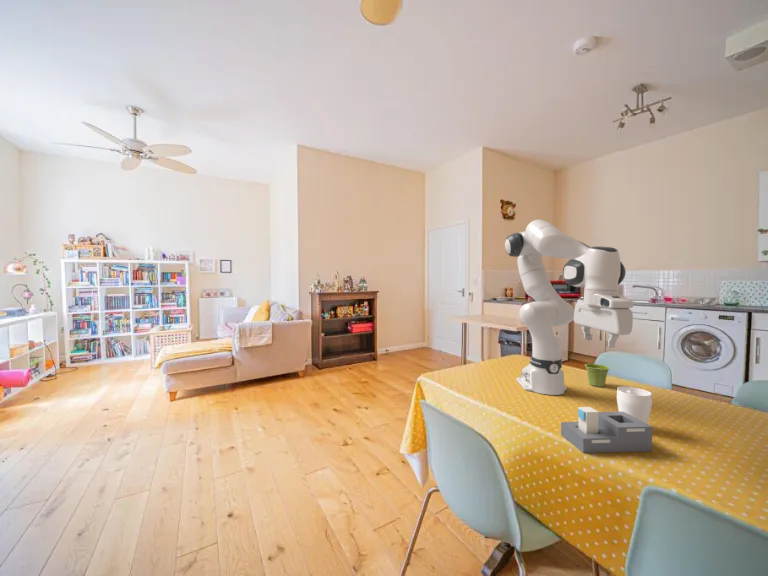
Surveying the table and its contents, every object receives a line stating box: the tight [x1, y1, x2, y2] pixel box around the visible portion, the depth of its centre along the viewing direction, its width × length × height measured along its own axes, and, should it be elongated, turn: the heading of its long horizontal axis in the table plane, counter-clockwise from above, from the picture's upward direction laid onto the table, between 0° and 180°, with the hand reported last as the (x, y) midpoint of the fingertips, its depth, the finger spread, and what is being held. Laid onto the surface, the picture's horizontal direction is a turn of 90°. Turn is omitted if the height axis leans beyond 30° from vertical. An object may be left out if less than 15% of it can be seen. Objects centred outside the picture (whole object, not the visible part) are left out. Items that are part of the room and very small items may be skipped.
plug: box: [577, 406, 600, 434], centre depth 91 cm, size 4×4×9 cm
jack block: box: [560, 411, 653, 454], centre depth 91 cm, size 10×20×7 cm, turn 93°
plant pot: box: [584, 363, 610, 388], centre depth 142 cm, size 9×9×9 cm
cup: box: [616, 385, 653, 425], centre depth 101 cm, size 9×9×12 cm
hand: (598, 343), depth 96 cm, fingers open, 8 cm apart
